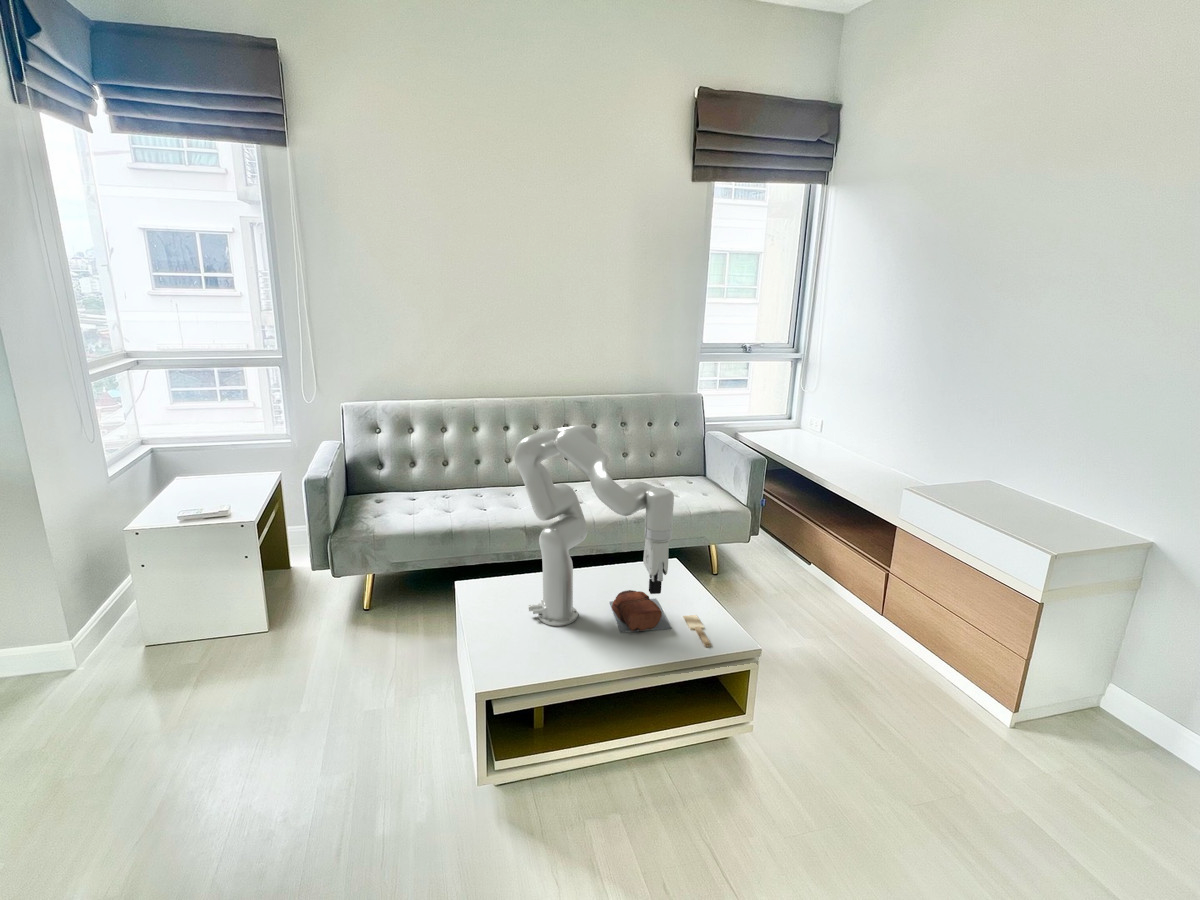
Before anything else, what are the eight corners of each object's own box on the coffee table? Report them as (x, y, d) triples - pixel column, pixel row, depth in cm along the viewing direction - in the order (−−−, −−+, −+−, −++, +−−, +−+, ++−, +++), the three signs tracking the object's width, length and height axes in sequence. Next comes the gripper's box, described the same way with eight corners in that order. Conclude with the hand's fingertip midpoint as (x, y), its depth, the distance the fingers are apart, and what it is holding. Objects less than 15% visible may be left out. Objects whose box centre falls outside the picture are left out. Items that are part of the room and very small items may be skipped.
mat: (620, 632, 189) (620, 630, 189) (609, 603, 207) (609, 601, 207) (671, 628, 192) (671, 627, 192) (655, 600, 210) (656, 598, 210)
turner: (715, 646, 182) (715, 643, 182) (700, 647, 182) (700, 644, 181) (696, 616, 200) (696, 613, 199) (683, 617, 199) (683, 614, 199)
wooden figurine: (663, 626, 191) (639, 602, 208) (663, 607, 190) (639, 584, 206) (628, 635, 187) (606, 609, 204) (627, 615, 186) (606, 591, 202)
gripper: (639, 523, 178) (636, 581, 183) (651, 543, 164) (648, 606, 169) (664, 522, 180) (660, 580, 184) (678, 542, 165) (674, 604, 170)
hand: (654, 592), depth 176 cm, fingers closed
